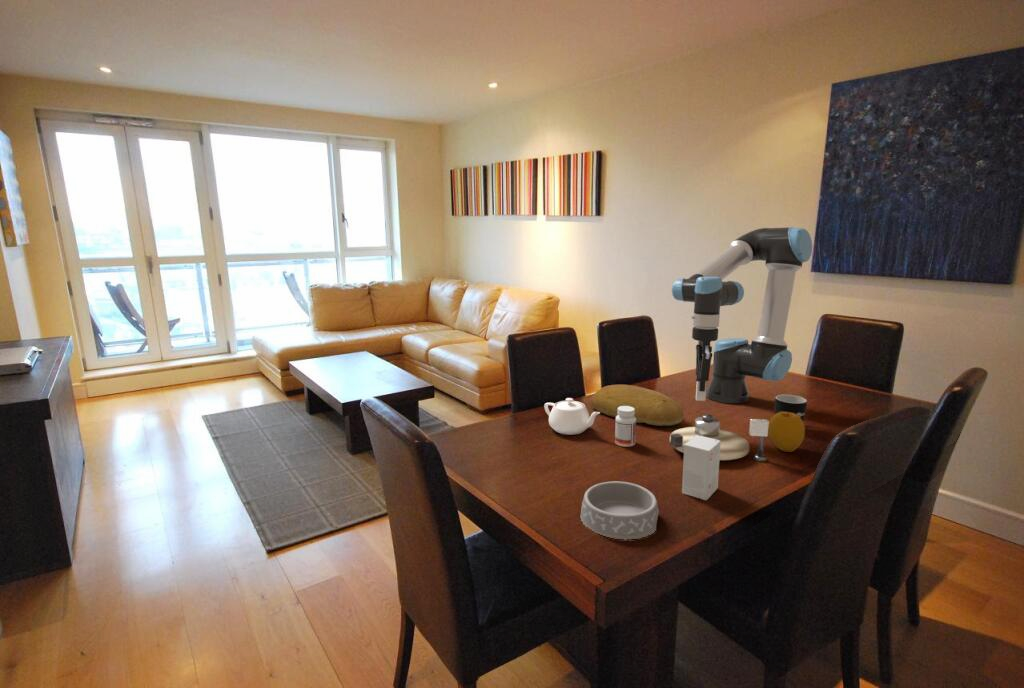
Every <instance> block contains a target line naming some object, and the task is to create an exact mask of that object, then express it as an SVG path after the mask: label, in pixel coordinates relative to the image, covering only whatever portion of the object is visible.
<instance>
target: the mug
mask: <svg viewBox="0 0 1024 688" xmlns="http://www.w3.org/2000/svg"><path fill="white" fill-rule="evenodd" d="M807 404H808V401H807V399H806V398H804V397H803V396H799V395H793V394H778V395H776V396H775V399H774V415H775V414H777V413H779V412H790V413H794V414H796V415H798V416H799V417H800V418H801V420H802V421H803V422H804V419H805V416H806V410H807Z"/></svg>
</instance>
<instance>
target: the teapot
mask: <svg viewBox="0 0 1024 688" xmlns="http://www.w3.org/2000/svg"><path fill="white" fill-rule="evenodd" d="M549 406H550V407H551V406H552V409H551V411H550V409H549ZM543 407H544V411H545V413H546V414H547V415H548V425H549V426H550V428H552V429H553V430H554V431H555V432H556V433H559V434H561V435H570V436H571V435H573V436H574V435H579V434H581V433H583V432H585V431H586V430H587V429H588V428H590V427H592V426H593V424H594V422H595V419H596V416H597V415H599V414H601V412H599V411H593V412H592V413H591V415H590V413H589V411H588V409H587V406H586V405H585V404H584V403H583V402H580V401H577V400H574V398H572V397H566V398H565V400H560V401H558V402H555V403H554V402H546V403H544V405H543Z"/></svg>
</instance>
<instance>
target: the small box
mask: <svg viewBox="0 0 1024 688" xmlns="http://www.w3.org/2000/svg"><path fill="white" fill-rule="evenodd" d="M720 444H721V441H720V440H716V439H712V438H708V437H704V436H699V435H696V436H694V437H693V438H692V439H691V440H690V441H688V442H687V443H686V444H685V445H684V453H683V463H682V465H683V466H682V484H681V494H683V495H687V496H690V497H693V498H697V499H699V498H700V499H699V500H702V501H708V499H710V498H711V496H712V495H713V494H714V493H715V492H716V491H717V490H718V486H719V471H720V470H719V469H720V461H721V460H720Z"/></svg>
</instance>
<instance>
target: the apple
mask: <svg viewBox="0 0 1024 688" xmlns="http://www.w3.org/2000/svg"><path fill="white" fill-rule="evenodd" d="M768 421H769V425H768V437H769V439H770V440H771V441H772V442H773V444H774V446H775V448H777V449H779V450H780V451H782V452H785V453H787V452H788V453H789V452H790V453H792V452H794V451H795V450H797V449H798V448H799V447H800V445H802V443H803V441H804V439H805V435H806V434H805V433H806V432H805V431H806V426H805V424H804V420H803V421H802V420H801V418H800V417H799V416H798V415H796V414H794V413H790V412H779V413H777V414H775V413H774V415H772V417H771V418H770V419H769V420H768Z"/></svg>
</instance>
